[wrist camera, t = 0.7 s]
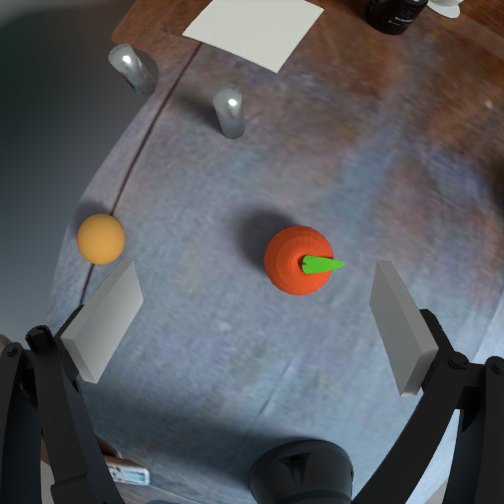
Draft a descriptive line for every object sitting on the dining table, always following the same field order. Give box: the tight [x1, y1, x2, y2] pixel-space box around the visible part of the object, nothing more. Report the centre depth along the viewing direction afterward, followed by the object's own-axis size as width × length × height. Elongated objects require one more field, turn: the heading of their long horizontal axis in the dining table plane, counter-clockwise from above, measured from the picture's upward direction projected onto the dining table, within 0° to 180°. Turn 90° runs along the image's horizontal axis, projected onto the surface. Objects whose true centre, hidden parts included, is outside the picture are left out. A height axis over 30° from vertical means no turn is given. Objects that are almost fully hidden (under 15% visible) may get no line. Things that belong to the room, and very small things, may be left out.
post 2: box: [212, 84, 245, 139], centre depth 28 cm, size 3×3×9 cm
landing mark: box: [182, 0, 324, 74], centre depth 32 cm, size 14×14×1 cm
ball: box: [77, 214, 125, 265], centre depth 31 cm, size 6×6×6 cm
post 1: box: [108, 44, 156, 97], centre depth 28 cm, size 3×3×9 cm
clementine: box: [264, 226, 345, 296], centre depth 30 cm, size 8×7×7 cm
